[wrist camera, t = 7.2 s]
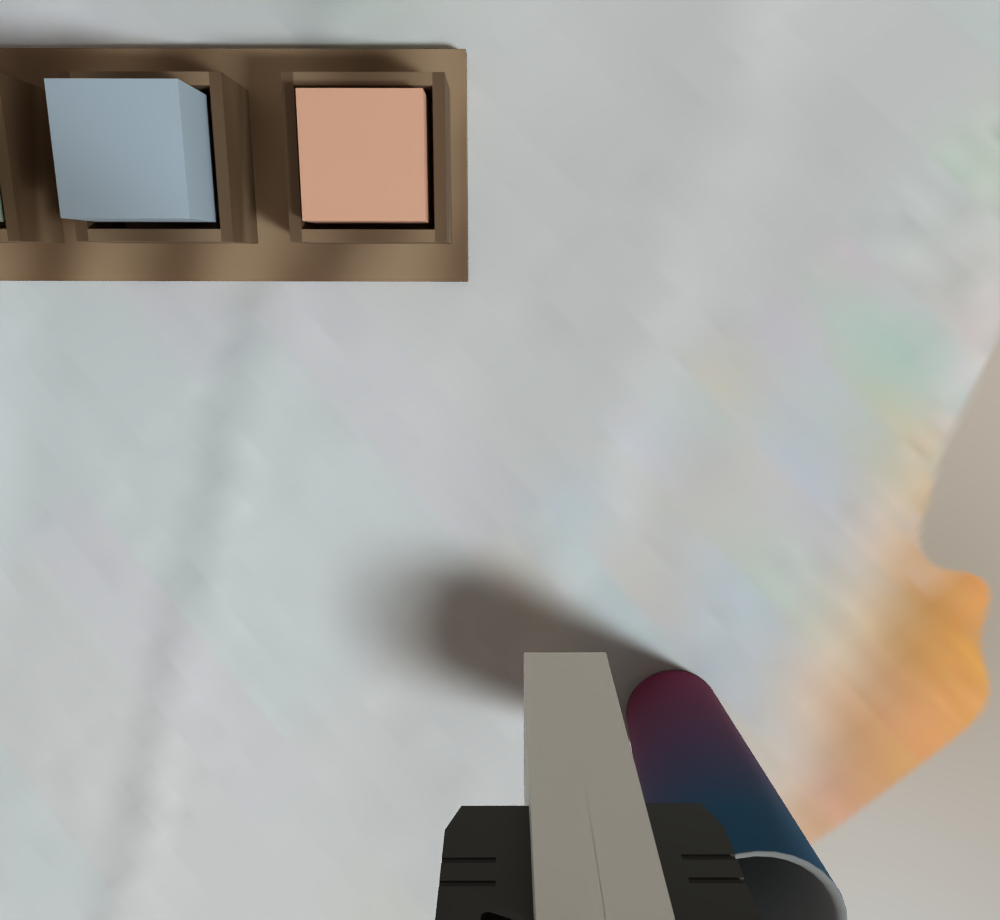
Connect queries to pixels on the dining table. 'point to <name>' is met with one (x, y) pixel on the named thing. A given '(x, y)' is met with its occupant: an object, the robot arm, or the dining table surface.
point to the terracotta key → (364, 155)
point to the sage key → (1, 212)
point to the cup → (727, 793)
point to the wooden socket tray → (233, 172)
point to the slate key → (130, 150)
